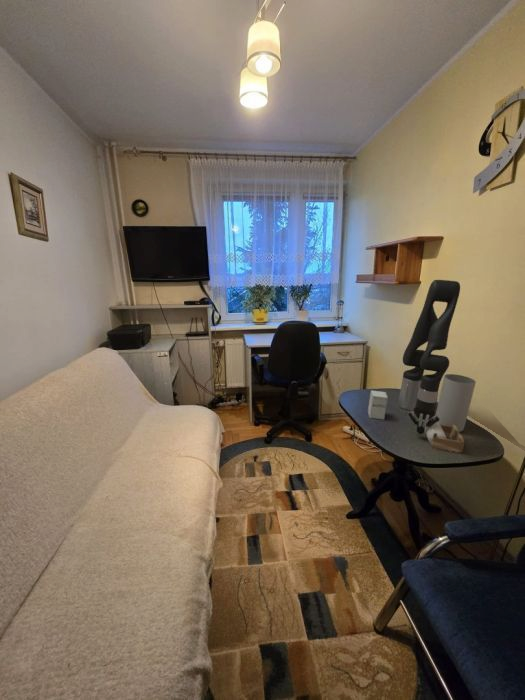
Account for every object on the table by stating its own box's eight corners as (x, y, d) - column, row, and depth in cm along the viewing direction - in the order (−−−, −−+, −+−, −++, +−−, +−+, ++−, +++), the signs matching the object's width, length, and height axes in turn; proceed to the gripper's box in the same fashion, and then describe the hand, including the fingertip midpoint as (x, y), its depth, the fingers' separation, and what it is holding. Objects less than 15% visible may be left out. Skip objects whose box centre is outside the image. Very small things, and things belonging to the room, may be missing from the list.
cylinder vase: (450, 418, 148) (460, 373, 141) (470, 431, 136) (482, 383, 129) (428, 419, 146) (438, 374, 140) (446, 433, 135) (458, 384, 128)
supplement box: (369, 418, 147) (372, 395, 143) (367, 411, 154) (370, 389, 150) (384, 420, 145) (388, 397, 141) (382, 413, 152) (385, 391, 148)
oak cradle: (425, 430, 136) (427, 418, 134) (452, 435, 133) (455, 423, 131) (431, 447, 123) (434, 434, 121) (461, 453, 120) (465, 439, 118)
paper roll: (439, 419, 131) (442, 432, 132) (422, 421, 133) (425, 434, 134) (445, 430, 121) (448, 445, 122) (426, 432, 124) (430, 446, 125)
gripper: (442, 397, 127) (434, 432, 131) (409, 392, 131) (403, 426, 135) (446, 404, 120) (438, 440, 124) (411, 399, 124) (404, 434, 129)
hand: (419, 433), depth 130 cm, fingers closed
